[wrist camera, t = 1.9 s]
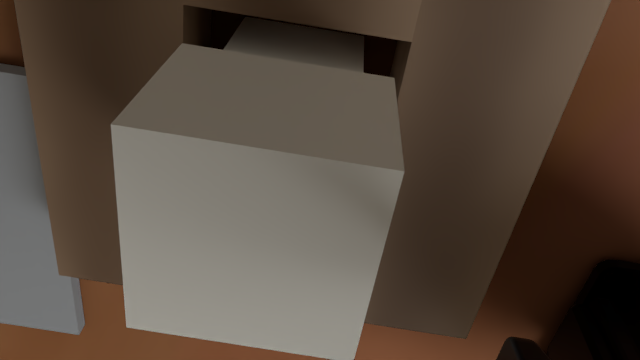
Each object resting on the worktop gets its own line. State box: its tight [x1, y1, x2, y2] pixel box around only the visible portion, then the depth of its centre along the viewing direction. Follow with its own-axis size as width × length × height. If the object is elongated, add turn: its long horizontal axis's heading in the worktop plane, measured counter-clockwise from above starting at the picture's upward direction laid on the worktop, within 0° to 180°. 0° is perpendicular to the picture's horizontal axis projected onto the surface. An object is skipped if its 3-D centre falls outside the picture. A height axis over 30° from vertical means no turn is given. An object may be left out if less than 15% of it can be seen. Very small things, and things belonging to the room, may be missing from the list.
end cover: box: [111, 17, 405, 360], centre depth 14 cm, size 5×5×8 cm
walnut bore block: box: [14, 0, 611, 339], centre depth 16 cm, size 14×14×3 cm
